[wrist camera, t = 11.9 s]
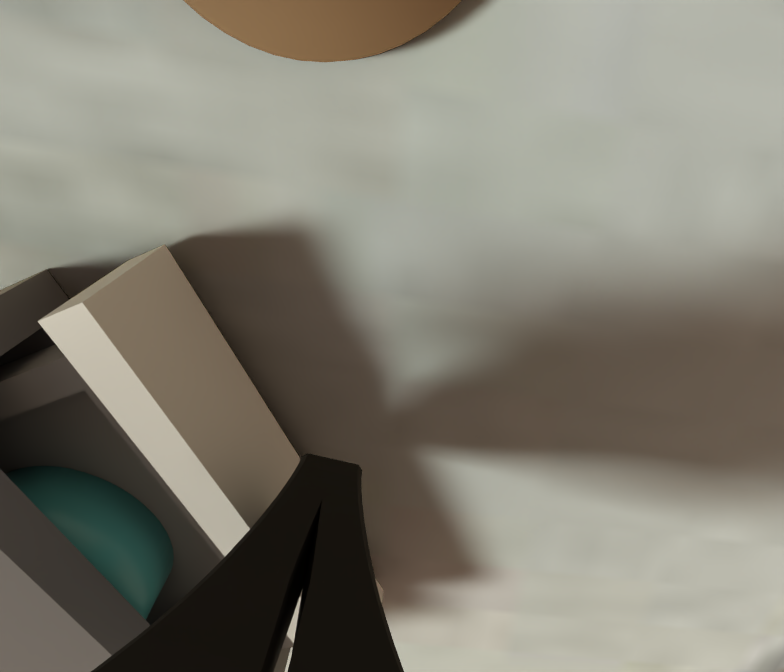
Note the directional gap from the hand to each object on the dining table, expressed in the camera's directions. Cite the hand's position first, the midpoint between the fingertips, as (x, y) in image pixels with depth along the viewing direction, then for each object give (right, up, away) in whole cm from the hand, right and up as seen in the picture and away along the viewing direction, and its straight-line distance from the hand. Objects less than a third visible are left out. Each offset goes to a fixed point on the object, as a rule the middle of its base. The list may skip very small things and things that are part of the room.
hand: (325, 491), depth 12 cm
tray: (-6, -1, +4) cm, 7 cm away
